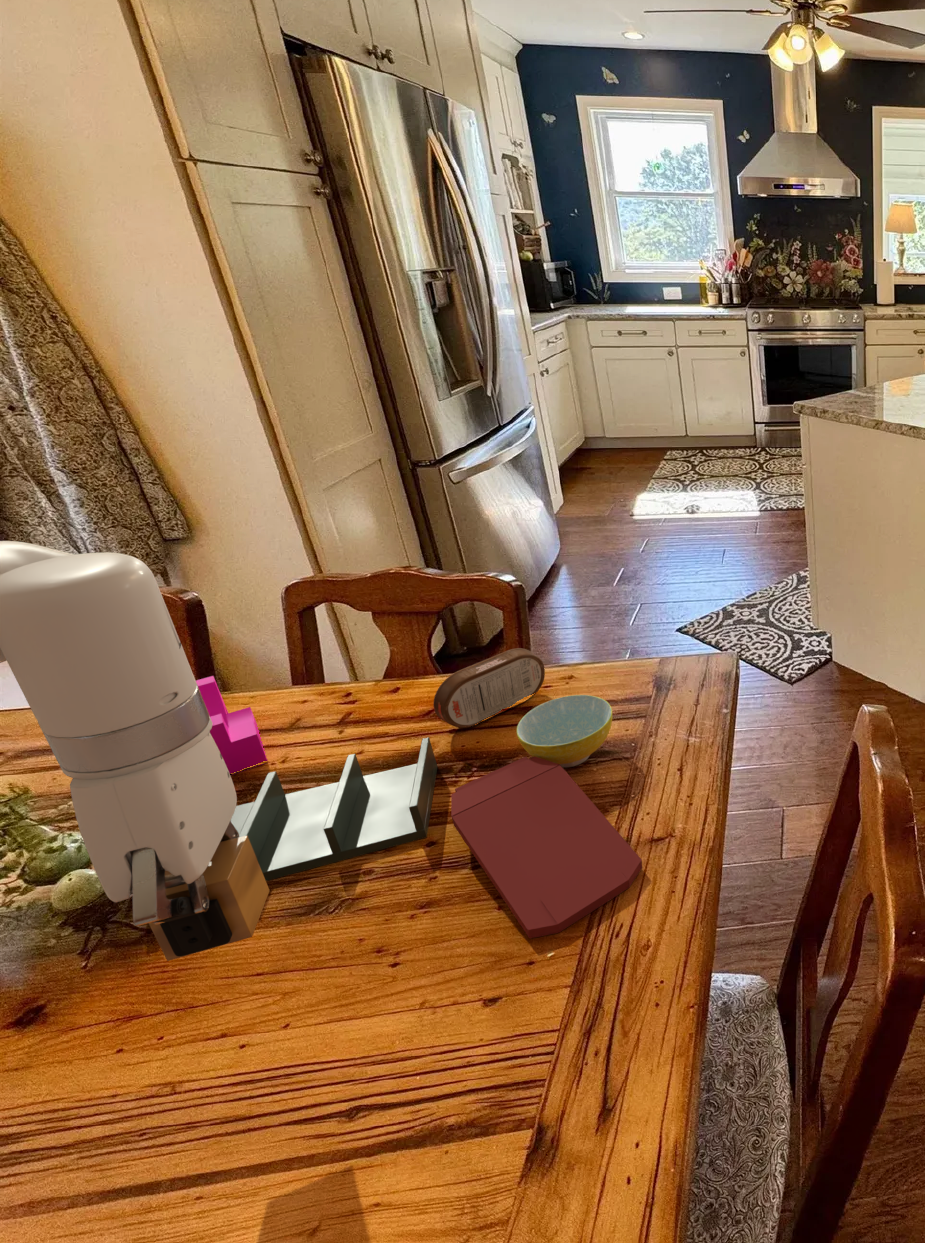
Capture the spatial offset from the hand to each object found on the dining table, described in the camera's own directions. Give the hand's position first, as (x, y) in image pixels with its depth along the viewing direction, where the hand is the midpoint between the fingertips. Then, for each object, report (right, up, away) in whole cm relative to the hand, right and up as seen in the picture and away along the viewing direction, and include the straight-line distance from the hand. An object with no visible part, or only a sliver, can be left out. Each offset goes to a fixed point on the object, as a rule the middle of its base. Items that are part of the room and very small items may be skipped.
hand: (217, 916), depth 58 cm
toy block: (-38, +2, +41) cm, 56 cm away
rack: (-15, -4, +27) cm, 32 cm away
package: (0, -1, 0) cm, 1 cm away
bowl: (+9, +1, +41) cm, 42 cm away
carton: (+12, -5, +26) cm, 29 cm away
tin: (-6, +5, +50) cm, 50 cm away
